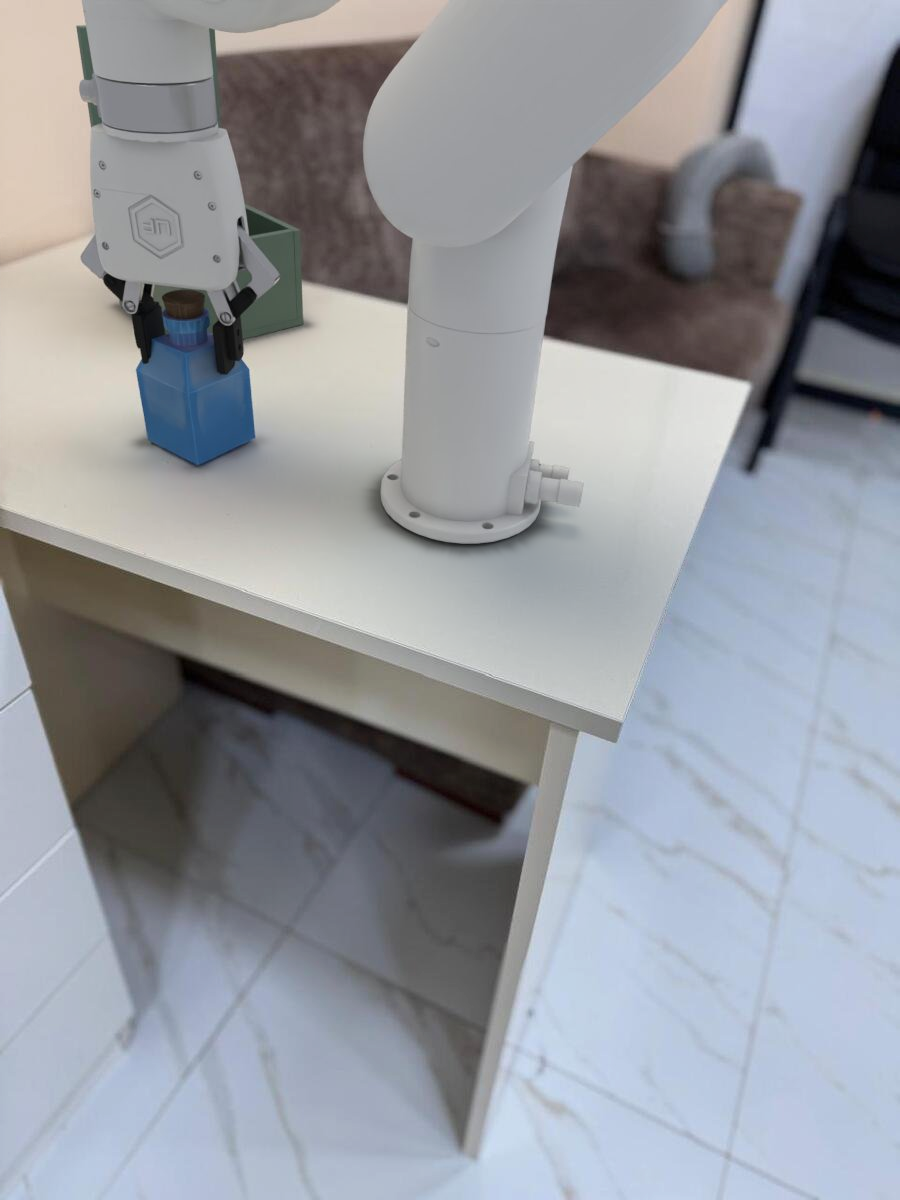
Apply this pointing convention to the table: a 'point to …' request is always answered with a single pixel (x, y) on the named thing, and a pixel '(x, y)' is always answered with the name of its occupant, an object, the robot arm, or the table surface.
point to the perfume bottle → (193, 386)
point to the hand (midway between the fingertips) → (191, 360)
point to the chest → (279, 301)
